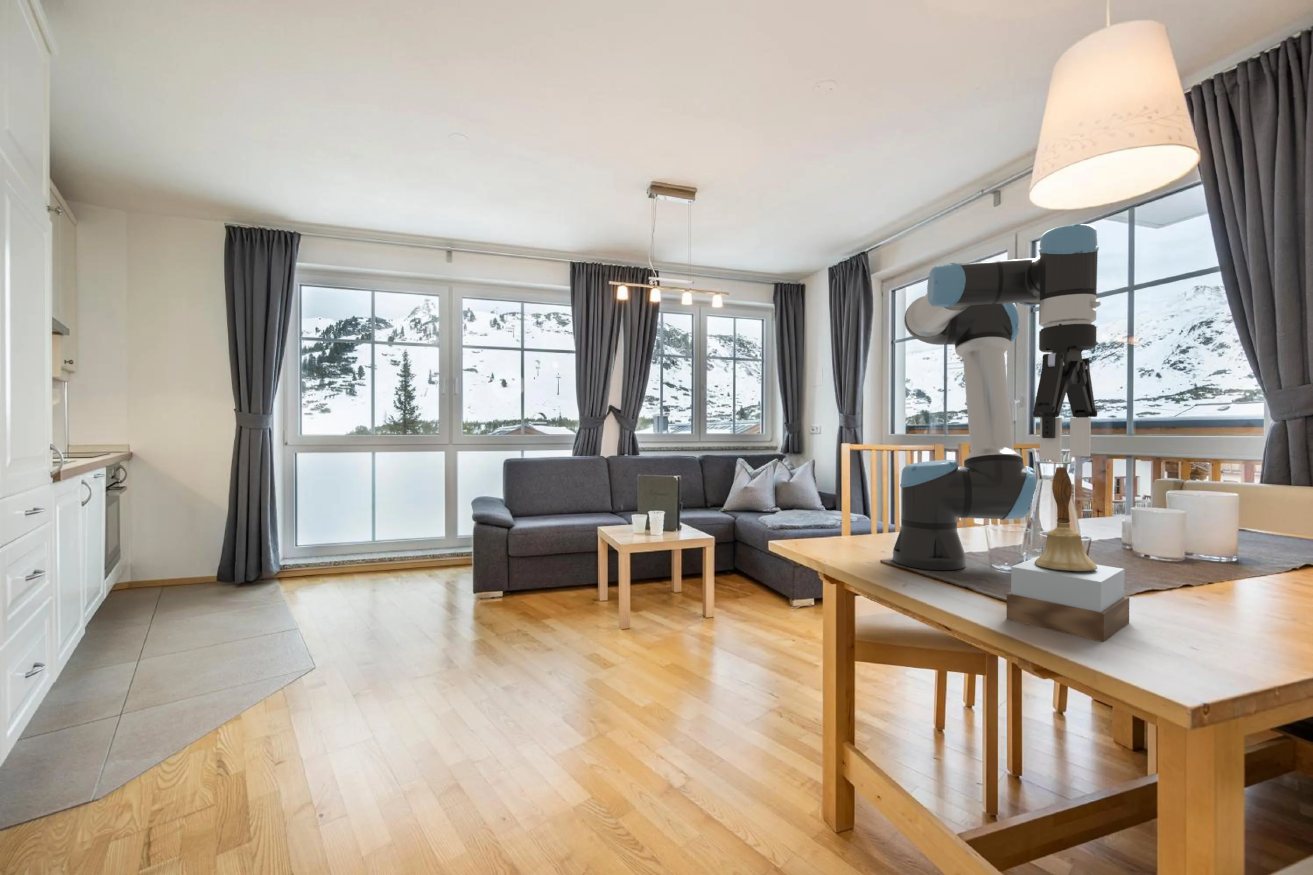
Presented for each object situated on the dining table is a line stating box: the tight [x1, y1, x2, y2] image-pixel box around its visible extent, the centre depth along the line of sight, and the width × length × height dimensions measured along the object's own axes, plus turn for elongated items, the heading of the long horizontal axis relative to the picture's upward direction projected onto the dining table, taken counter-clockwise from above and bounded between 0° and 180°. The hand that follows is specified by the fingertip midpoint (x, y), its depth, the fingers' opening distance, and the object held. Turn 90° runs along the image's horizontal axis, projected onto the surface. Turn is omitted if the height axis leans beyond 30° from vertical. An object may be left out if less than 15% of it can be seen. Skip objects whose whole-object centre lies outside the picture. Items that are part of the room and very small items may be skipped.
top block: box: [1010, 555, 1126, 612], centre depth 94 cm, size 12×12×4 cm
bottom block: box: [1006, 591, 1130, 643], centre depth 94 cm, size 13×13×4 cm
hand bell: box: [1035, 466, 1097, 571], centre depth 94 cm, size 8×8×16 cm
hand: (1065, 458), depth 94 cm, fingers open, 13 cm apart
